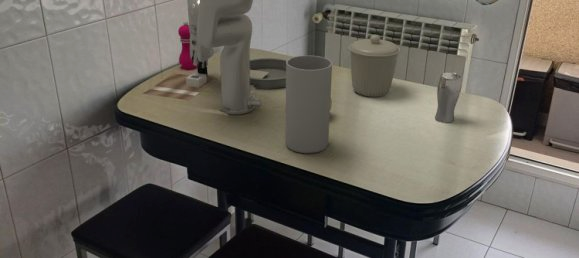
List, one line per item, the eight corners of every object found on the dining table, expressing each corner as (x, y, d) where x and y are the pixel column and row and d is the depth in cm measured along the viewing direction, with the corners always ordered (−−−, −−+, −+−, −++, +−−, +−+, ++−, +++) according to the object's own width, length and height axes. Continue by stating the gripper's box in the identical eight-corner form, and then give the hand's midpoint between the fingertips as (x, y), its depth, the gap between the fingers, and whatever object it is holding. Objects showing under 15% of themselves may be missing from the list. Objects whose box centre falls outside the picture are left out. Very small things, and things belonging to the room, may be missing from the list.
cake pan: (255, 64, 222) (255, 54, 220) (310, 74, 212) (310, 63, 210) (222, 83, 202) (222, 72, 200) (281, 95, 192) (281, 83, 190)
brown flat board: (217, 82, 202) (217, 78, 201) (189, 104, 183) (189, 100, 182) (174, 76, 207) (174, 73, 206) (143, 97, 188) (142, 93, 187)
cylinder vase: (329, 136, 162) (333, 56, 151) (326, 156, 151) (330, 71, 140) (288, 133, 164) (289, 54, 153) (282, 152, 152) (282, 68, 142)
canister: (335, 90, 196) (338, 33, 187) (368, 79, 207) (372, 25, 198) (373, 105, 184) (378, 45, 175) (406, 92, 195) (412, 36, 186)
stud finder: (206, 82, 198) (206, 74, 197) (199, 87, 193) (198, 79, 191) (194, 80, 199) (193, 72, 198) (186, 85, 194) (185, 77, 193)
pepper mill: (200, 68, 216) (197, 19, 207) (195, 74, 209) (192, 23, 201) (182, 67, 217) (178, 18, 208) (177, 73, 210) (173, 23, 201)
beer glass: (440, 124, 171) (446, 80, 164) (429, 116, 177) (435, 72, 170) (459, 122, 172) (466, 78, 166) (448, 114, 178) (454, 71, 172)
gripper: (199, 34, 184) (202, 85, 192) (218, 24, 197) (220, 71, 205) (180, 32, 186) (183, 82, 194) (200, 22, 199) (202, 69, 207)
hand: (202, 76), depth 200 cm, fingers closed
